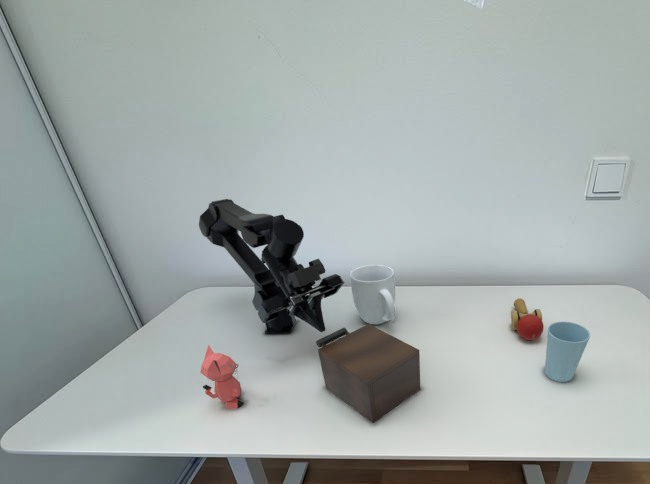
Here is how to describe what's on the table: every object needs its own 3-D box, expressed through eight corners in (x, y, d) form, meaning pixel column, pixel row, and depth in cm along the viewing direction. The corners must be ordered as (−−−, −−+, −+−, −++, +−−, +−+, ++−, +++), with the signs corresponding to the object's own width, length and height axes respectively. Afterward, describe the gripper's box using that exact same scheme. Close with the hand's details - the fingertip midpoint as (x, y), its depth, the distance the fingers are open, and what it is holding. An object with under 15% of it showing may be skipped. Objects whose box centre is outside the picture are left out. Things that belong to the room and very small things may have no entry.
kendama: (500, 312, 102) (511, 340, 85) (507, 291, 99) (519, 315, 83) (528, 317, 102) (544, 346, 86) (535, 296, 99) (553, 321, 83)
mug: (413, 327, 94) (411, 279, 87) (374, 341, 89) (369, 291, 82) (384, 304, 105) (380, 260, 97) (348, 316, 100) (342, 270, 92)
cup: (575, 390, 73) (587, 346, 67) (536, 379, 76) (544, 336, 70) (580, 368, 78) (592, 326, 72) (543, 359, 81) (551, 318, 75)
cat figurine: (253, 405, 71) (235, 355, 65) (215, 420, 68) (191, 368, 62) (245, 386, 76) (227, 337, 70) (209, 398, 73) (187, 348, 67)
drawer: (312, 372, 78) (305, 341, 74) (354, 349, 85) (350, 319, 81) (366, 412, 68) (362, 378, 63) (410, 382, 75) (408, 350, 70)
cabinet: (325, 388, 75) (317, 349, 70) (372, 360, 83) (368, 323, 77) (373, 423, 67) (367, 382, 61) (420, 389, 74) (419, 349, 69)
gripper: (248, 263, 67) (293, 336, 67) (332, 237, 78) (371, 300, 78) (241, 290, 76) (281, 354, 76) (318, 263, 87) (352, 320, 87)
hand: (323, 331), depth 79 cm, fingers closed
